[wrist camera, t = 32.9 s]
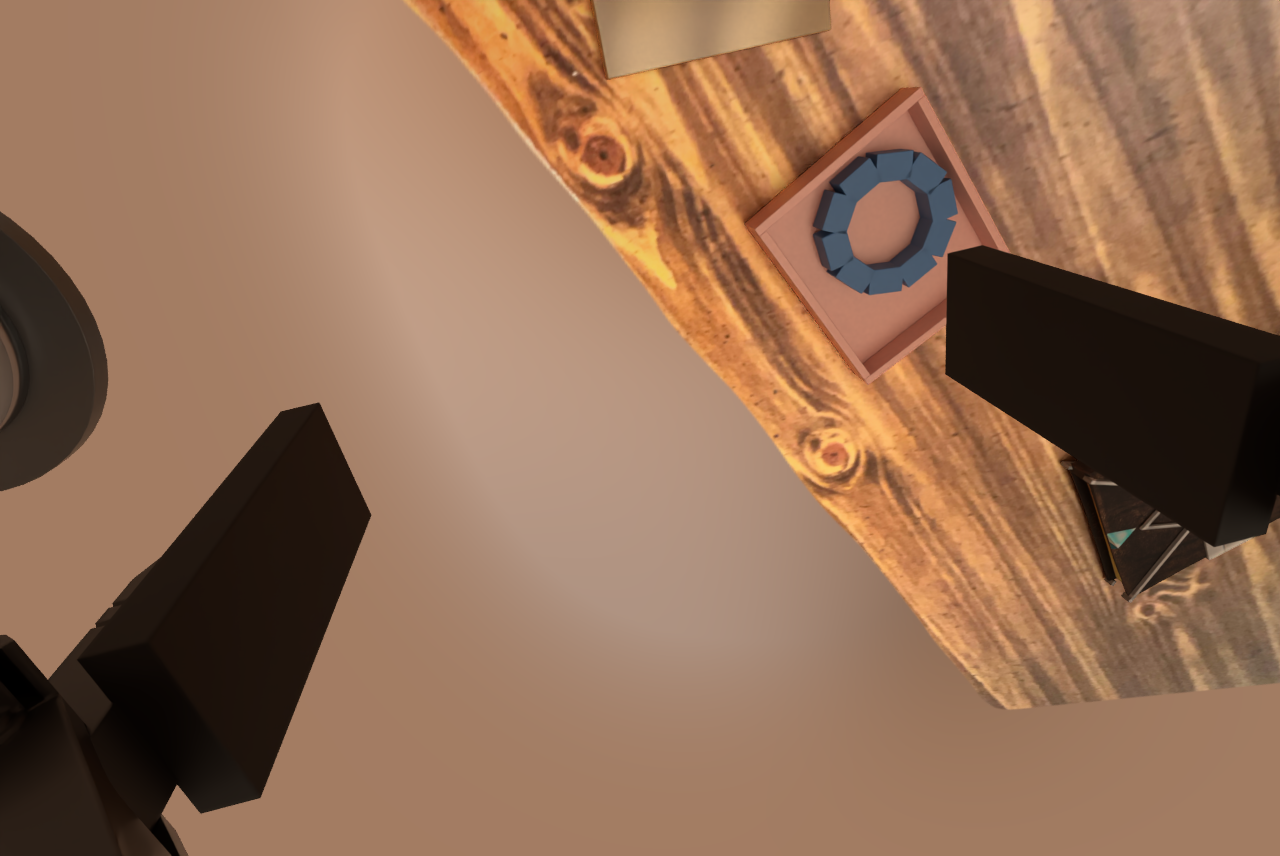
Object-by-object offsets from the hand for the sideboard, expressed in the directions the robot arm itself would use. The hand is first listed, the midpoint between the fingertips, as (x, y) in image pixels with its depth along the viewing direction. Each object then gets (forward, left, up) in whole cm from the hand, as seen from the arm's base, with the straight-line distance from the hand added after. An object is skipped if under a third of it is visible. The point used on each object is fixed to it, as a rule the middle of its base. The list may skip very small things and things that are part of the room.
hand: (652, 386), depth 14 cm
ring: (+20, -6, -33) cm, 39 cm away
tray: (+20, -8, -34) cm, 40 cm away
